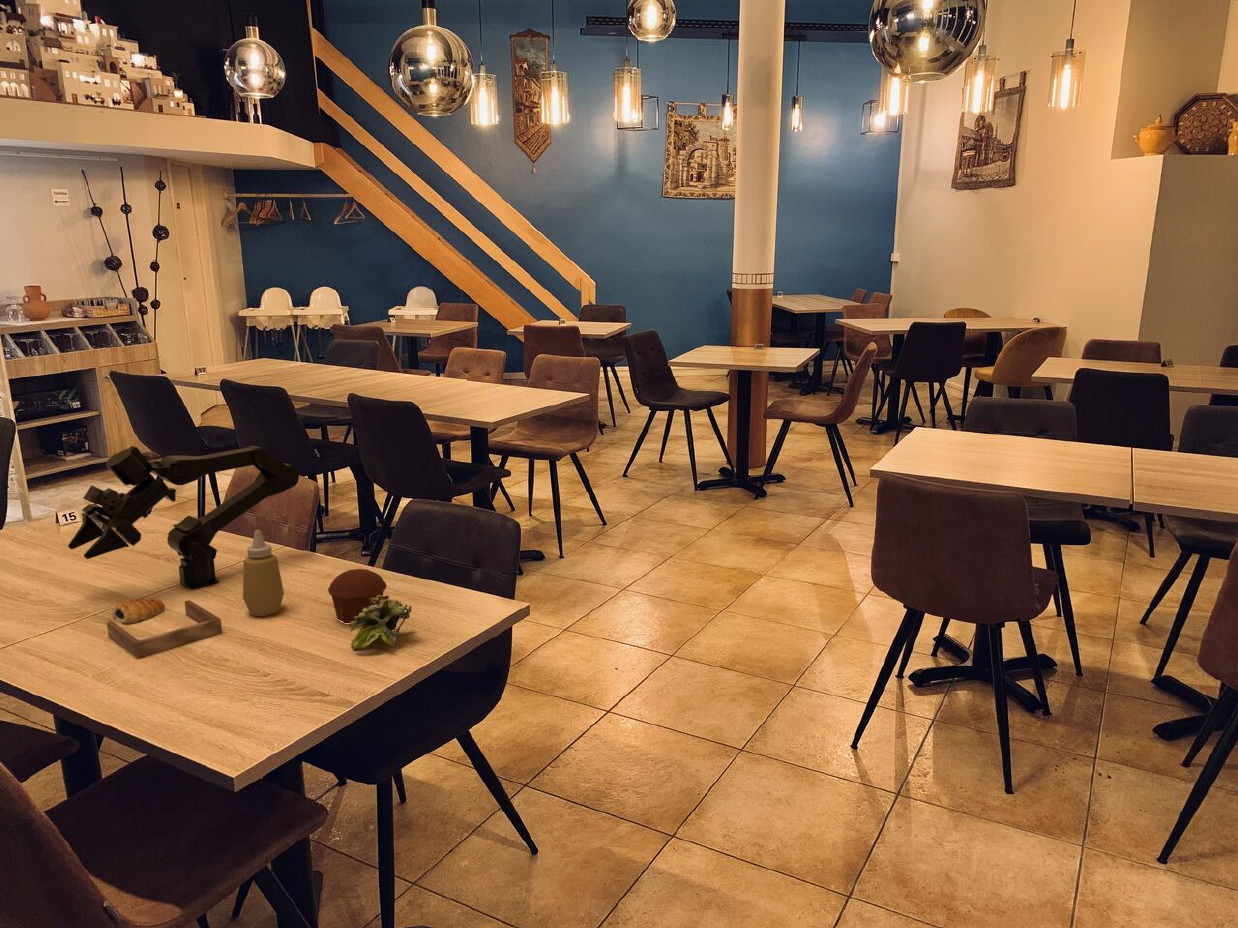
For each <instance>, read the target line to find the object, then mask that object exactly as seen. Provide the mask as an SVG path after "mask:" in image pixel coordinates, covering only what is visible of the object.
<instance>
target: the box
mask: <svg viewBox="0 0 1238 928" xmlns="http://www.w3.org/2000/svg"><path fill="white" fill-rule="evenodd" d="M184 610H185V616H187V617H189V618H190V619H191V620H193V621H195V622H196V623H195V624H192V625H188V626H184V627H181V628H177V629H175V630H170V631H167V632H164V633H162V634H161V633H160V634H157V635H154V636H151V637H147V638H143V639H138V638H137V637H135V636H133V634H131V633H130V632H129V631H127V630H125V629H124V628H123V627H121V626H119V625H118V624H117V623H116V622H115V621H113V620H111V621H107V622H106V627H107V635H108V636H107V637H109V639H111V640H112V641H113V642H115V643H116V644H118V646H120V647H121V648H122V649H124V650H125V651H127V653H129V654H130V655H132V656H133V657H134V658H136V659H141V658H145V657H147V656H151V655H154V654H158V653H161V652H164V651H168V650H171V649H173V648H177V647H180V646H183V645H186V644H190V643H192V642H197V641H200V640H204V639H207V638H210V637H212V636H213V637H214V636H216V635H220V634H222V633H223V628H222V620H221V619H222V618H220V617H218V616H217V615H215V614H213V613H212V612H210V611H209V610H208V609H205V608H204V607H202V606H201V605H199V604H196V603H195V602H193V601H191V600H190V599H189V600H185V601H184Z"/></svg>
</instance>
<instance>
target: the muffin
mask: <svg viewBox="0 0 1238 928" xmlns="http://www.w3.org/2000/svg"><path fill="white" fill-rule="evenodd" d="M387 587H388V586H387V583H386V581H385V580H384V579H383V577H382V576H381V575H380V574H378V573H377V572H374V571H371V570H369V569H364V568H355V569H348V570H347V571H344V572H342V573H340V574H339V575H337V576H336V577H335V578H333V580H332V582H331V583H330V584H329V586H328V589H327V590H328V591H327V592H328V594H329V595H330V596H331V599H332V603H333V608H334V611H335V614H336V619H339V620H341V621H343V622H344V623H351V622H354V621H356V619H354V617H355V616H356V617H359V613H363V611H362V610H363V609H365V608H366V607H367V608H369V606H370V605H372V606H373V605H375V604H371V602H370V601H369V598H373V597H374V598H377V597H376V596H378V595H381V596H384V592H385V590H386V589H387ZM374 602H376V601H374ZM368 605H369V606H368ZM378 606H379V605H378Z"/></svg>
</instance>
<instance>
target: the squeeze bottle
mask: <svg viewBox="0 0 1238 928" xmlns="http://www.w3.org/2000/svg"><path fill="white" fill-rule="evenodd" d="M246 550H247V551H246V552H247V557H246V558H244V560H243V569H242V572H243V573H242V574H243V575H242V577H243V578H242V600H243V601H244V603H245V605H246V608H247V610H248V612H249V613H250V615H251V616H254V617H267V616H271V615H274V614H277V613H278V612H279V611H280V610H281V605H282V602H283V600H284V599H283V598H284V595H285V594H284V593H285V591H284V587H283V586H284V585H283V581H282V575H281V572H280V565H279V561H278V557H277V556H276V555H275V554H273V553H272V552H273V551H272V545H271V544H267V543H266V542H265V539H264V535H263V533H262V530H261V529H255V530H254V533H253V541H252V545H250V546H248V547H247V548H246Z"/></svg>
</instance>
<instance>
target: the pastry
mask: <svg viewBox="0 0 1238 928" xmlns="http://www.w3.org/2000/svg"><path fill="white" fill-rule="evenodd" d="M114 606H115V607H114V609H112V617H113V618H114V620H115V622H119V623H123V624H127V625H128V624H130V625H131V624H135V623H138V622H139V621H145V620H146V621H147V620H149V619H150V618H153V617H155V616H158V615H160V614H161V613H162V612H163V611H165V607H166V606H165V604H164V602H163V601H162V600H161V599H158V598H157V599H156V598H151V599H147V598H142V599H141V598H140V599H130V600H129V601H123V602H121V603H120V604H116V605H114Z"/></svg>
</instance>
